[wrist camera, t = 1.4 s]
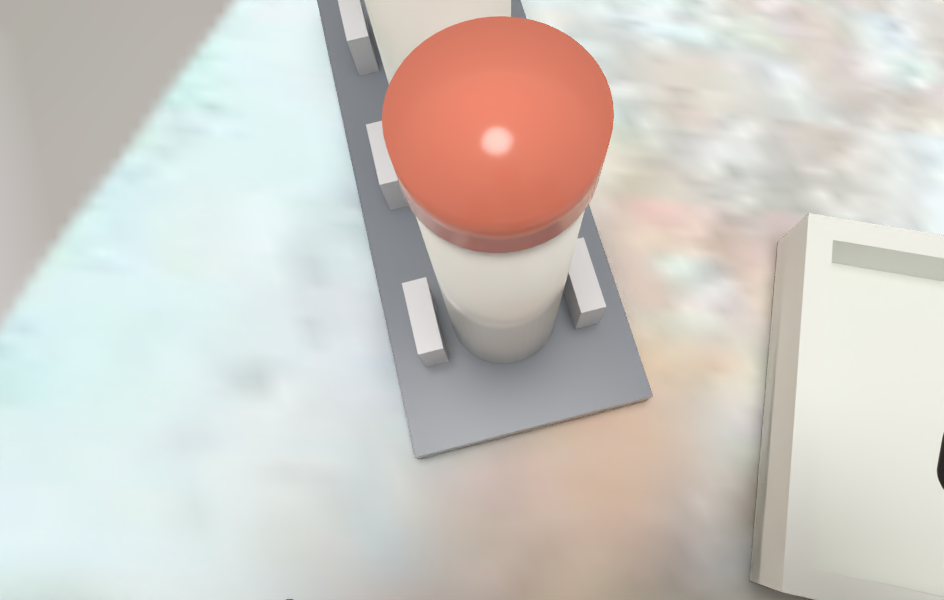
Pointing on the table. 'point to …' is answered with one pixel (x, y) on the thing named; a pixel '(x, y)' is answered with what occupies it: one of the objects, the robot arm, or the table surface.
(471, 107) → the white cylinder orange top
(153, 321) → the table surface
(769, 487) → the tray
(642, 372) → the fuse panel
